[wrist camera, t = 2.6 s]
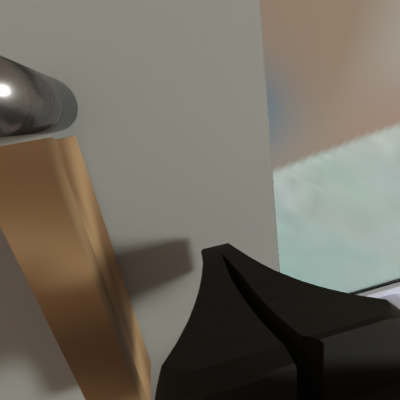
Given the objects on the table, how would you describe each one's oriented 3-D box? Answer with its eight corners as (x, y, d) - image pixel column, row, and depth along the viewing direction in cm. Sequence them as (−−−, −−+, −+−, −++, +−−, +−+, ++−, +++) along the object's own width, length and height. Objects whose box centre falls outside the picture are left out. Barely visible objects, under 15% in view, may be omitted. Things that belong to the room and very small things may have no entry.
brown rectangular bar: (36, 140, 10) (-36, 152, 6) (82, 132, 10) (40, 138, 6) (125, 371, 14) (115, 461, 10) (156, 362, 14) (157, 446, 11)
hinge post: (70, 74, 10) (-6, 32, 5) (86, 126, 10) (32, 131, 6) (17, 82, 10) (-114, 45, 5) (37, 135, 10) (-61, 147, 6)
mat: (253, -42, 10) (256, -47, 9) (284, 358, 17) (286, 361, 17) (-552, 47, 7) (-581, 44, 7) (-102, 478, 14) (-107, 486, 14)
